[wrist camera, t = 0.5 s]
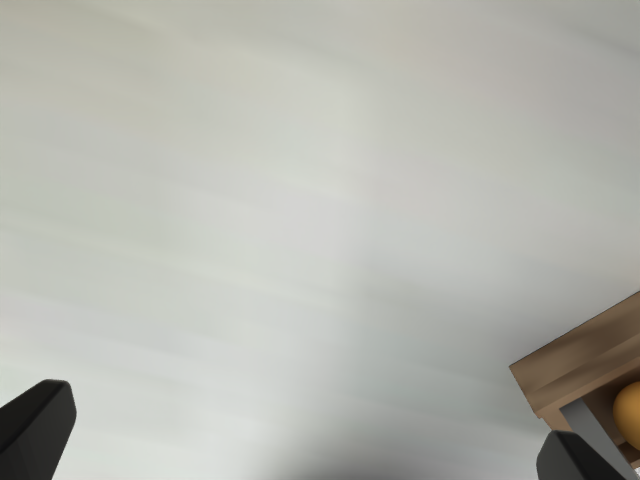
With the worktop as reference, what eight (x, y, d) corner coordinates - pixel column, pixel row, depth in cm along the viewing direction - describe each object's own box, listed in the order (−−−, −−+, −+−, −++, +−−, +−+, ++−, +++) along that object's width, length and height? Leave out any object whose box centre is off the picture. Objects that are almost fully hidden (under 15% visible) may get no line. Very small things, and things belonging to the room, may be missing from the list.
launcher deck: (563, 435, 29) (594, 488, 25) (508, 366, 27) (534, 412, 23) (691, 370, 27) (744, 417, 23) (640, 290, 25) (690, 328, 21)
